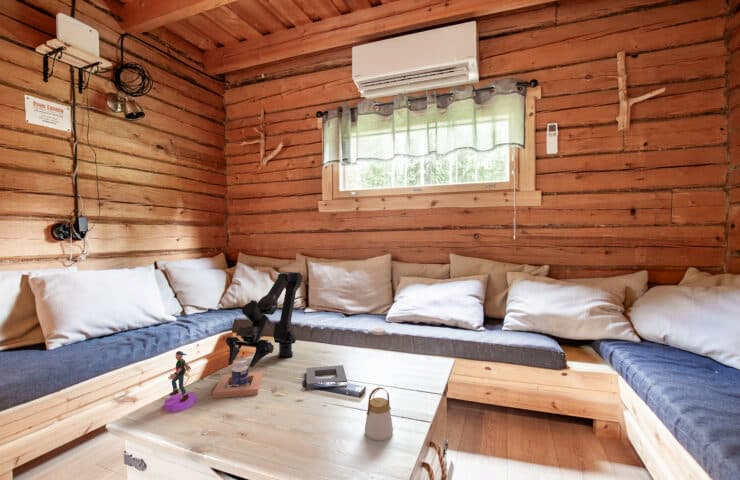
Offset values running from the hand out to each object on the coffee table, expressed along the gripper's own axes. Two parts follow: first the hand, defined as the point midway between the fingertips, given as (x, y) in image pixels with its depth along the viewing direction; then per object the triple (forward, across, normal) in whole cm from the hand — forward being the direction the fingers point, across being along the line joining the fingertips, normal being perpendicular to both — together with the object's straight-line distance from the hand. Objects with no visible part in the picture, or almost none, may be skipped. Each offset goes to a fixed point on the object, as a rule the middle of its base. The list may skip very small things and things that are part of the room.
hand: (239, 365), depth 131 cm
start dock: (-5, +28, +16) cm, 33 cm away
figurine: (+18, -11, -6) cm, 22 cm away
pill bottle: (+6, 0, +6) cm, 8 cm away
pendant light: (+15, +57, -4) cm, 59 cm away
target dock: (+6, 0, +5) cm, 8 cm away
